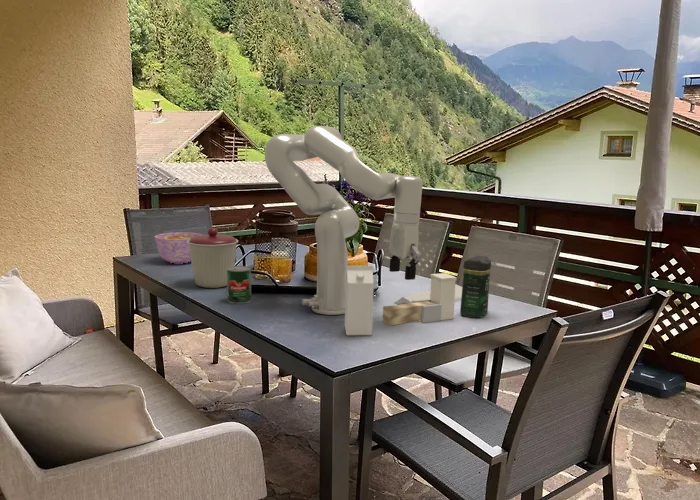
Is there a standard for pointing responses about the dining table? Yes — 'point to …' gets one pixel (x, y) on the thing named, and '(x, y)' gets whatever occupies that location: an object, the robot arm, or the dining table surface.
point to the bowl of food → (175, 246)
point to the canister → (212, 258)
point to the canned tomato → (239, 284)
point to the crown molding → (428, 296)
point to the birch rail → (403, 313)
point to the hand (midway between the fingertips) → (401, 275)
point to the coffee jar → (475, 286)
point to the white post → (439, 298)
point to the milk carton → (359, 300)
